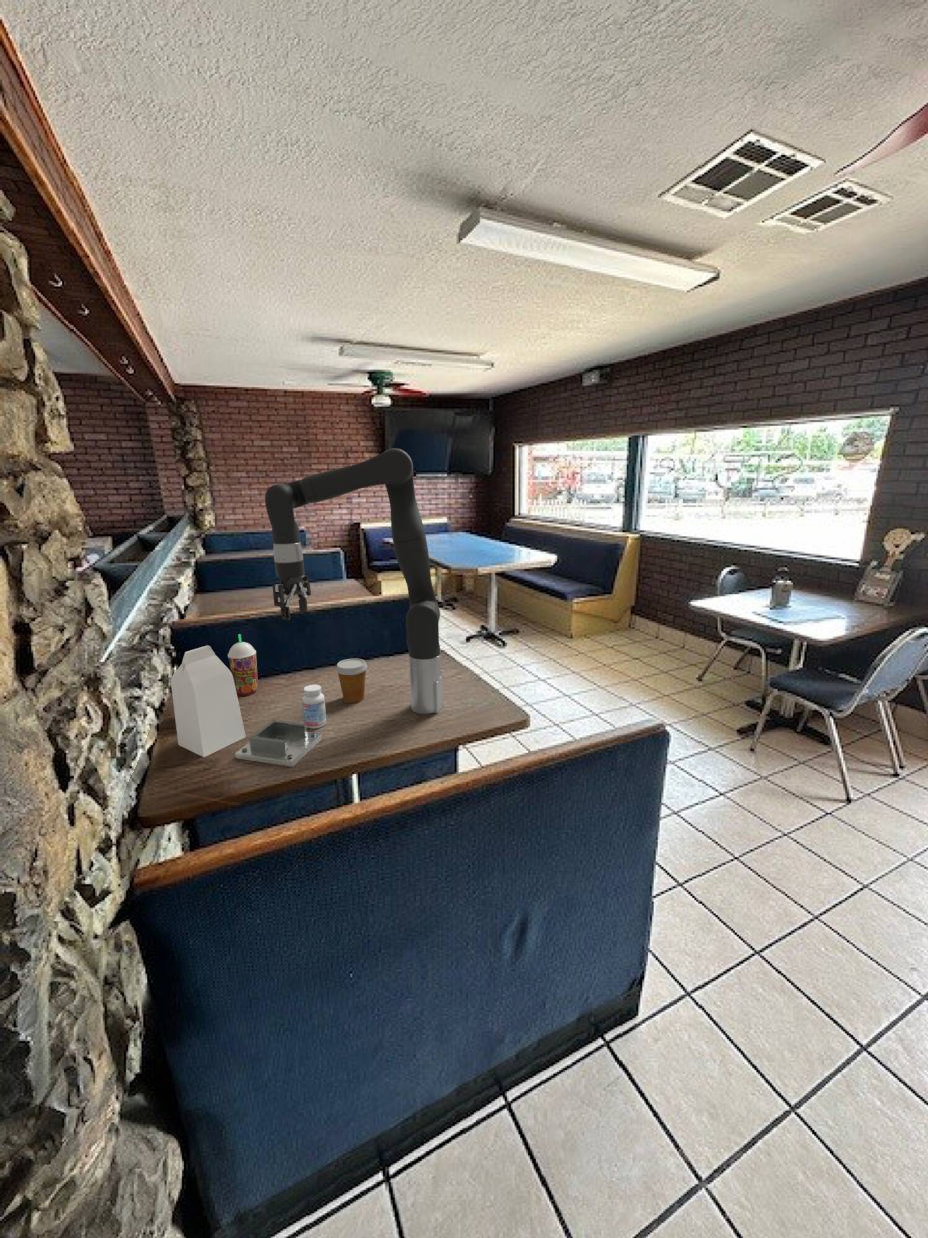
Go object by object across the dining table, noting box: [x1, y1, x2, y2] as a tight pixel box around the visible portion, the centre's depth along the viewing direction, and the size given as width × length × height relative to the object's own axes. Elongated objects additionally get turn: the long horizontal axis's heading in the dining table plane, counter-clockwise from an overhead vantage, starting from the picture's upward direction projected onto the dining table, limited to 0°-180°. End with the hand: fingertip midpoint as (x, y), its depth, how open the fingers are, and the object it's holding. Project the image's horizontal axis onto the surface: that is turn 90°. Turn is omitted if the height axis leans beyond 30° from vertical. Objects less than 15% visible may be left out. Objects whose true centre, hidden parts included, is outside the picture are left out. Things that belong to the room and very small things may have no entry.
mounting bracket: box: [235, 719, 323, 768], centre depth 131 cm, size 16×14×5 cm
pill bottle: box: [301, 684, 327, 730], centre depth 143 cm, size 6×6×11 cm
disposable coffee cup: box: [335, 658, 368, 704], centre depth 159 cm, size 10×10×12 cm
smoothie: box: [227, 633, 259, 696], centre depth 163 cm, size 8×8×20 cm
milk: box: [170, 645, 246, 758], centre depth 132 cm, size 12×12×26 cm
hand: (295, 615), depth 144 cm, fingers open, 8 cm apart
